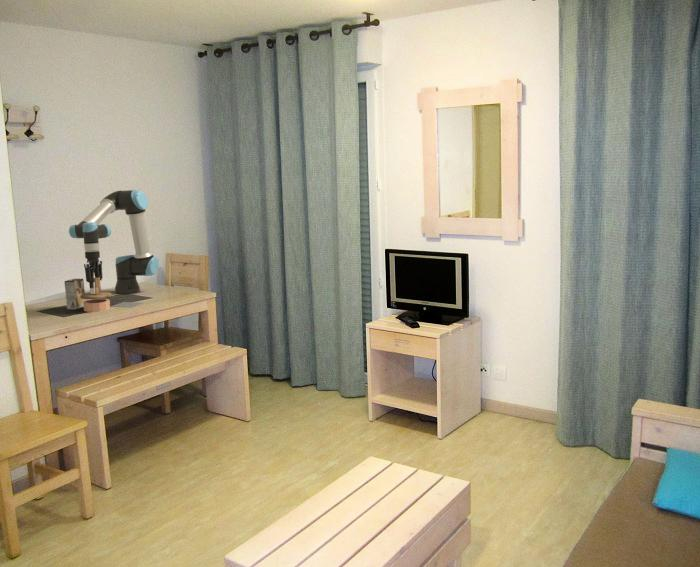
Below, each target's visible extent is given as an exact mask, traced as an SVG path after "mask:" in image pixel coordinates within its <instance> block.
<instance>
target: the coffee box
mask: <svg viewBox="0 0 700 567" xmlns="http://www.w3.org/2000/svg"><path fill="white" fill-rule="evenodd" d="M64 290H65V299H66V301H65V302H66V309H67V310H76V309H77V310H78V309H80V308H84V305H83V302H84V301H87V299H81V297H80V295H82V294H85V293H86V292H85V281H84V278H71V279H67V280H64Z"/></svg>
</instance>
